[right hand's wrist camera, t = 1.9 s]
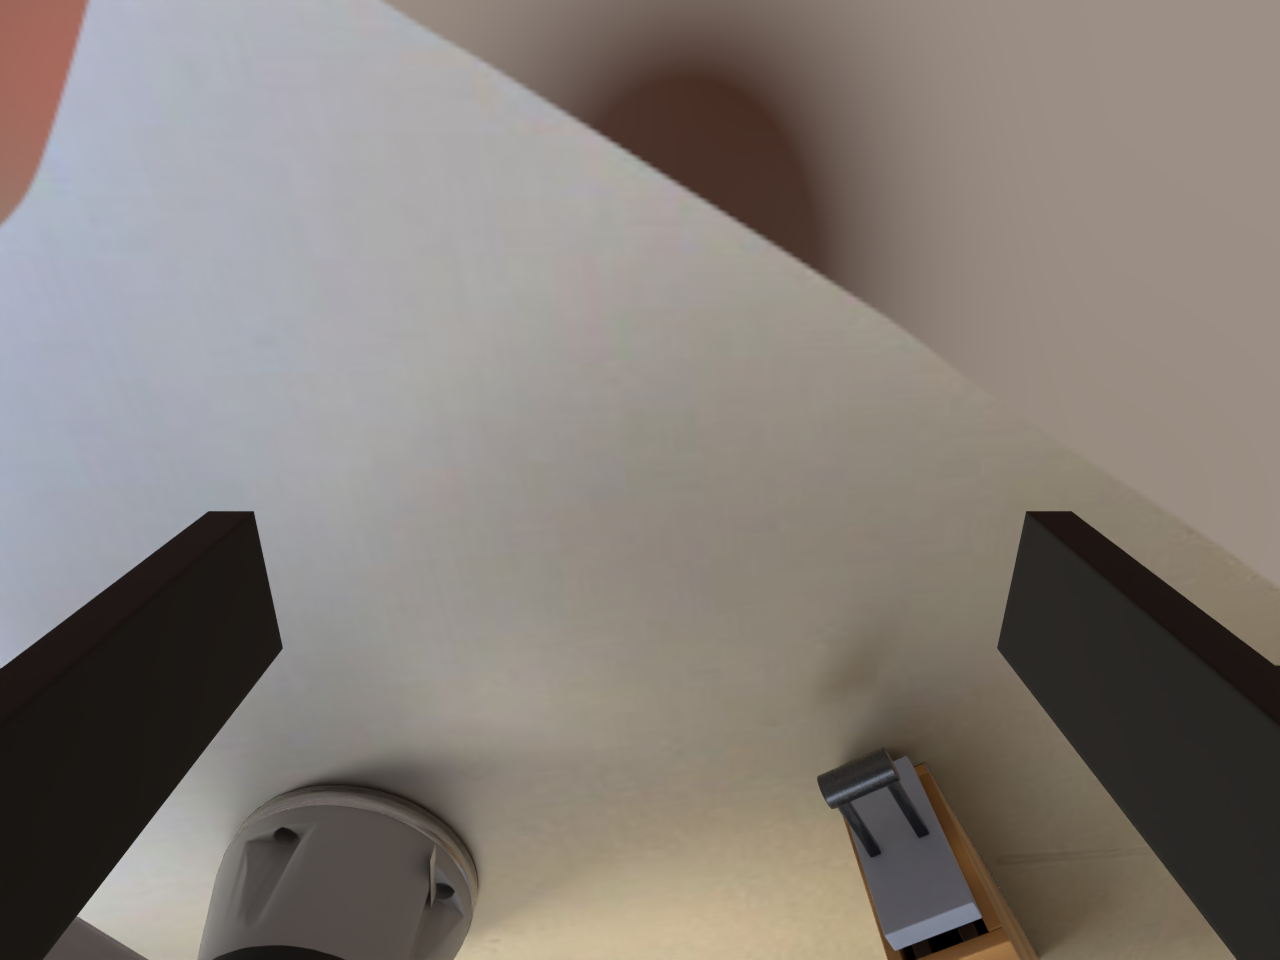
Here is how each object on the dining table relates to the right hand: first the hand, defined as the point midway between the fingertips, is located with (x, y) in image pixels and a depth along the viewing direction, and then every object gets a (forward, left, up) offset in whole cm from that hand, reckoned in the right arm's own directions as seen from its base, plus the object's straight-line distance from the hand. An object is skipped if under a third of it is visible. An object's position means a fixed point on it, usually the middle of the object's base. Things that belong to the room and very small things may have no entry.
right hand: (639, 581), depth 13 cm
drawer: (-19, -28, -21) cm, 40 cm away
